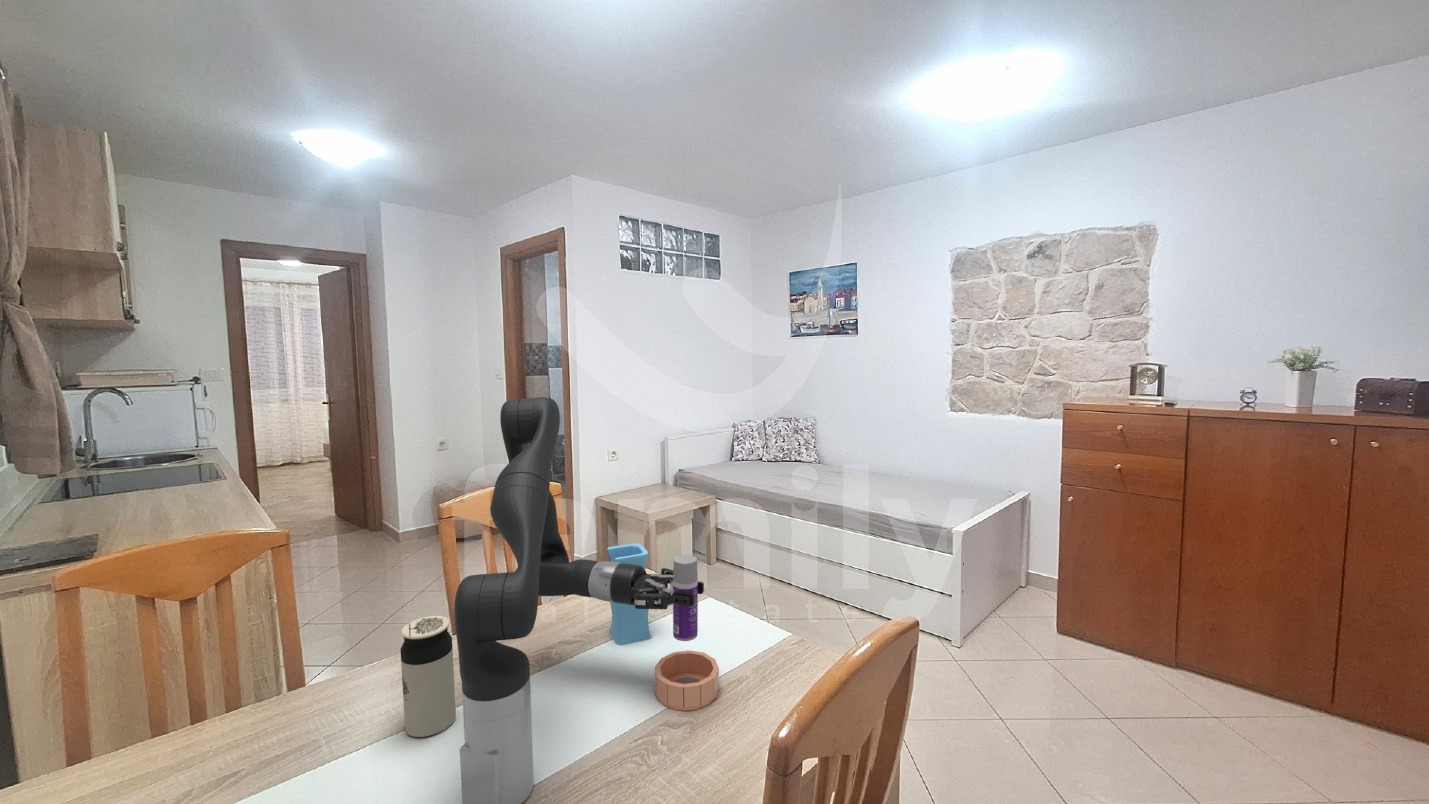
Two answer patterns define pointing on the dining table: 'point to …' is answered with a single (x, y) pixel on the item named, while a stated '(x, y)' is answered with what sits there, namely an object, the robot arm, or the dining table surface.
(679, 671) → the faceted terracotta pot
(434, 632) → the travel mug
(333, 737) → the dining table surface
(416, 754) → the dining table surface
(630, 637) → the vase
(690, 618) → the container
